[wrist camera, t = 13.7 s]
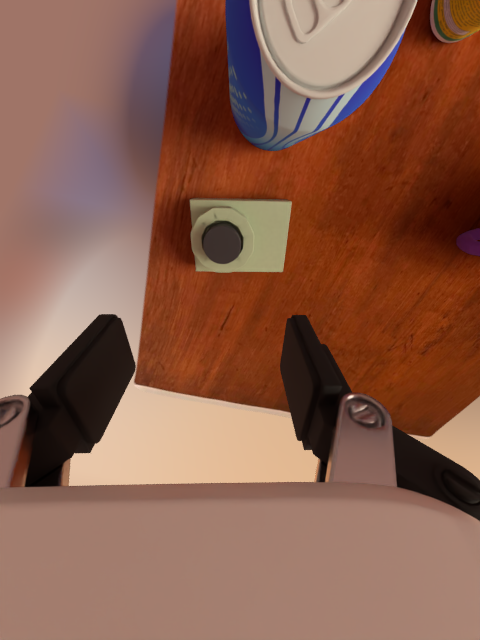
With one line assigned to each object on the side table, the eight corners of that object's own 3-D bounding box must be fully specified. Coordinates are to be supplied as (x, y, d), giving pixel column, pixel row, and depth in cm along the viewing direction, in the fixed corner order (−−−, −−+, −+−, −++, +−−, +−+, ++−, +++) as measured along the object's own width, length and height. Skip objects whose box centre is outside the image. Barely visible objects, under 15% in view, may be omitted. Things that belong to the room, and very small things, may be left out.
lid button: (205, 259, 27) (204, 264, 25) (203, 222, 24) (201, 225, 23) (240, 259, 27) (240, 264, 25) (241, 222, 24) (241, 226, 23)
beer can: (233, 22, 19) (234, -325, 6) (329, 39, 20) (530, -242, 6) (226, 146, 24) (217, 111, 10) (305, 156, 24) (393, 136, 11)
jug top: (198, 265, 31) (193, 276, 27) (192, 197, 26) (186, 201, 23) (279, 266, 31) (285, 277, 28) (287, 199, 27) (295, 203, 23)
